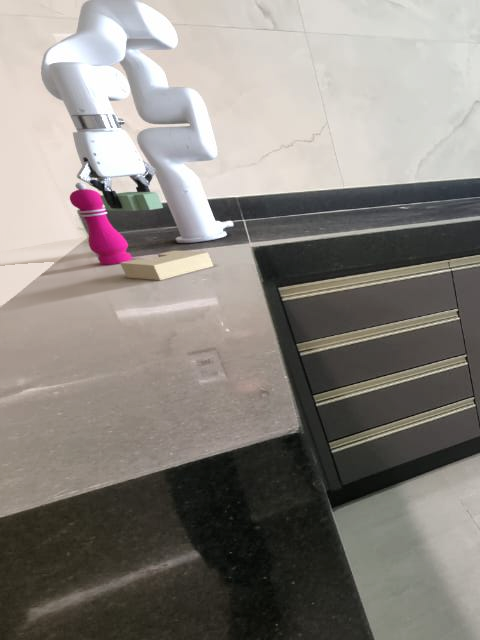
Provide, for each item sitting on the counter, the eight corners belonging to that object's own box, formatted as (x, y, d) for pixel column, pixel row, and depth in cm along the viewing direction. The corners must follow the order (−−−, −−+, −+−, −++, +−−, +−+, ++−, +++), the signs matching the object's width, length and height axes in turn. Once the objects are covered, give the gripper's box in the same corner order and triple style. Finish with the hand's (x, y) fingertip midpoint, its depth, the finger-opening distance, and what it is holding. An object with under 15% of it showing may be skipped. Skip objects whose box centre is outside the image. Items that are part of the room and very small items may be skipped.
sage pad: (134, 206, 132) (128, 191, 130) (170, 206, 128) (164, 191, 126) (106, 210, 127) (99, 195, 125) (142, 211, 123) (135, 195, 121)
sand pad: (180, 263, 134) (175, 250, 133) (213, 266, 130) (207, 252, 129) (126, 277, 124) (119, 262, 122) (160, 280, 120) (153, 265, 119)
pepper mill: (112, 265, 135) (73, 184, 127) (91, 265, 137) (50, 185, 128) (141, 258, 142) (106, 180, 133) (120, 258, 143) (84, 181, 134)
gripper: (129, 124, 128) (161, 200, 136) (38, 126, 113) (79, 212, 121) (150, 122, 126) (181, 200, 134) (59, 125, 111) (100, 212, 119)
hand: (132, 205), depth 127 cm, fingers closed on sage pad, 6 cm apart
